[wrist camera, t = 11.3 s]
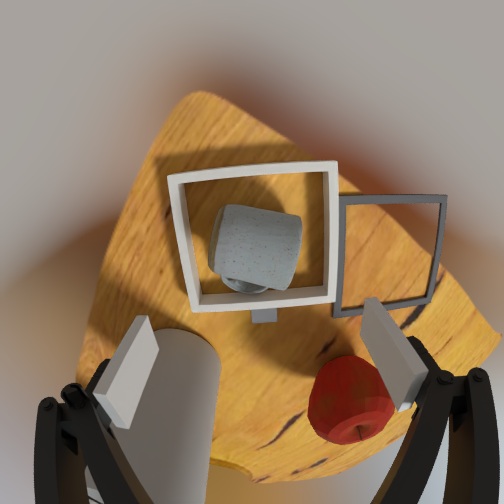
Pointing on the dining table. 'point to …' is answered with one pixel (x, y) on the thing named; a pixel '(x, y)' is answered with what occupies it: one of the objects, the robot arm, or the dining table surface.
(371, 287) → the dining table surface
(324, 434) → the apple
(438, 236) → the tray outline
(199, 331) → the dining table surface
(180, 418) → the cylinder vase
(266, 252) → the ceramic mug
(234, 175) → the socket
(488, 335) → the dining table surface
